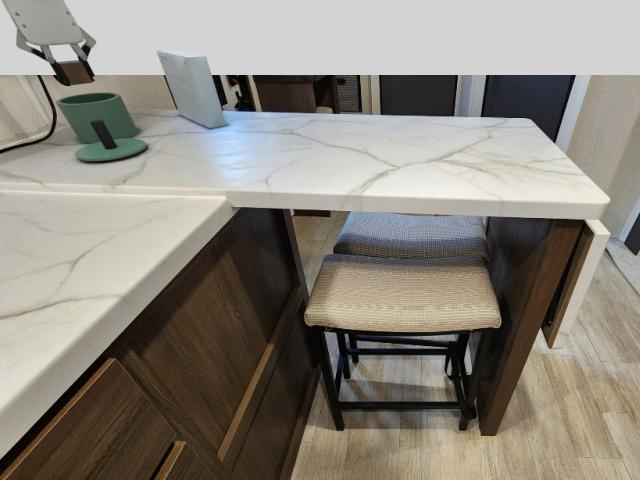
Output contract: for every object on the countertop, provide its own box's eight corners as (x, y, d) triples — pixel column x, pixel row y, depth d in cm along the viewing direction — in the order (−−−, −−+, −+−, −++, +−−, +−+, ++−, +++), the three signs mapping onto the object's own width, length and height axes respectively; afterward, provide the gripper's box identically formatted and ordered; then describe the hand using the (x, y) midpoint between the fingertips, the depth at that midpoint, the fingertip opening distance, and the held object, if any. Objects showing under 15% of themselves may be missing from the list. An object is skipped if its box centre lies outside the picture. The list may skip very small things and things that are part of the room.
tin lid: (86, 169, 69) (65, 135, 65) (71, 153, 76) (50, 121, 71) (156, 152, 76) (141, 121, 72) (136, 139, 83) (121, 109, 79)
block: (72, 85, 75) (59, 64, 72) (68, 82, 77) (55, 62, 74) (92, 82, 77) (81, 61, 74) (88, 80, 79) (77, 60, 76)
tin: (87, 147, 79) (62, 107, 73) (74, 136, 85) (50, 98, 79) (144, 135, 85) (126, 97, 80) (129, 125, 92) (110, 90, 86)
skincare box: (229, 125, 92) (206, 55, 81) (210, 129, 89) (184, 57, 78) (197, 111, 103) (174, 48, 92) (179, 115, 100) (152, 49, 89)
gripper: (65, -26, 71) (115, 75, 83) (-43, -29, 62) (31, 85, 74) (74, -27, 67) (125, 79, 80) (-40, -30, 58) (37, 90, 71)
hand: (79, 81), depth 77 cm, fingers closed on block, 4 cm apart
